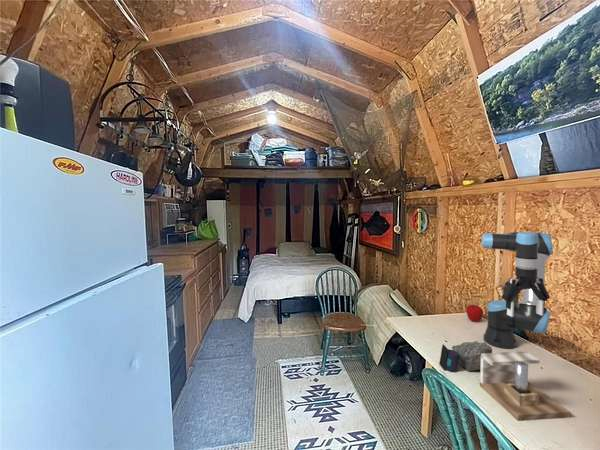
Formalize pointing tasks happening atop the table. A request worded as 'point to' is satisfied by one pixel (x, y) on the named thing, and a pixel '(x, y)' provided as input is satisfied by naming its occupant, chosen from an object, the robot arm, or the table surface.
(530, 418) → the socket board
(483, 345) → the rock
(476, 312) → the apple
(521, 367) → the peg
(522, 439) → the table surface
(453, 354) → the speaker
